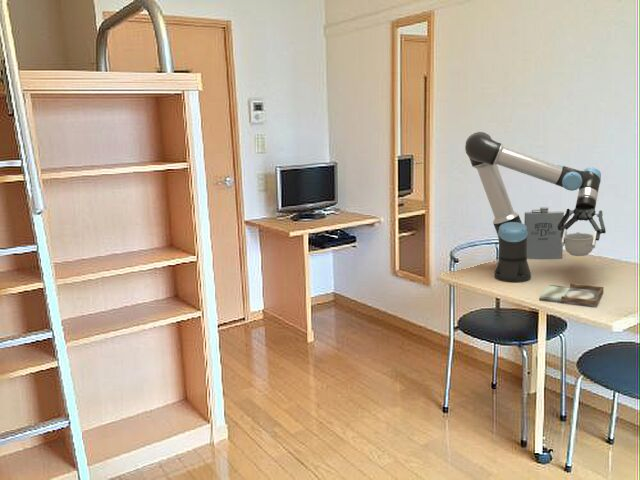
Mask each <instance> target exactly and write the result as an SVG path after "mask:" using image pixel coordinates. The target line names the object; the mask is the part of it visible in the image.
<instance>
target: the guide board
mask: <svg viewBox="0 0 640 480" xmlns="http://www.w3.org/2000/svg"><path fill="white" fill-rule="evenodd" d="M603 294H604V286H598V285H590V284H580V283H579V284H578V283H570V284H569V286H566V285H556V284H548V286H547V287H546V288H545V289H544V291H543V292H542V293H541V295H540V296H539V298H538V301H542V302H547V303H548V302H549V303H556V302H557V304H564V303H565V305H573V306H574V305H575V306H582V307H587V308H588V307H590V308H597V307H598V304H599V303H600V300H601V299H602V296H603Z"/></svg>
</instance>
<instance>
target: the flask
mask: <svg viewBox="0 0 640 480" xmlns="http://www.w3.org/2000/svg"><path fill="white" fill-rule="evenodd" d="M564 215H565V211H561V210H559V211H549V207H548V206H542V207H540V208H537V209H531V211H525V212H524V220H523V221H524V223H523V224H524V225H526V227H527V231H528V235H527V260H562V259H563V255H564V254H563V253H564V252H563V251H564V250H563V249H564V246H562V238H561V235H560V234H561V230H558V227H557V226H558V224H559V223H560V221H561V220H562V218H563V217H564Z"/></svg>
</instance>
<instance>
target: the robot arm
mask: <svg viewBox="0 0 640 480" xmlns="http://www.w3.org/2000/svg"><path fill="white" fill-rule="evenodd" d="M464 147H465V148H464V149H465V150H464V151H465V153H466V155H467V157H468V159H469V161H470V164H471V167H473V168H474V169H476V171H477V173H478V176H479V178H480V181H481V183H482V186H483V189H484V192H485V194H486V197H487V200H488V203H489V205H490V209H491V211H492V214H493V216H494V219H493V221H492V223H493V226H494V229H495V232H496V235H497V239H498V261H497V264H496V267H495V270H494V279H496V280H497V281H501V282H507V283H521V282H527V281H530V279H532V273H531V269H530V266H529V262H528V259H527V235H528V231H527V227H526V225H524V223H522V220H521V217H520V215H519V213H518V212H516V211H515V210H514V208H513V205H512V203H511V199H510V198H509V195H508V191H507V188H506V187H505V183H504V181H503V177H502V175H501V173H500V170H499V167H498V166H501V167H503V168H506V169H509V170H512V171H516V172H519V173H521V174H523V175H526V176H530V177H533V178H535V179H539V180H541V181H543V182H544V181H545V182H547V183H550V184H554V185H555V186H559V187H561V188H564V189H565V190H566V191H577V190H578V192H577V193H578V194H577V200H576V202H575V206H574V207H575V208H574V209H570V208H567V209H565V210H566V211H565V213H564V217H563V218H562V220H561V221H560V223H559V224H558V226H557V227H558V230H561V234H560V235H561V238H562V246H563V247H565V238H564V236H565V235H568V232H567V231H568V229H569V228H571V227H572V226H573V225H574V224H575V223H576V222H578V221H584V222H585V221H586V222H587V221H588V222H589V223H590V225H591V226H592V228H593V229H594V233H593V236H594V237H593V243H592V247H593V249H595V248H596V243H597V241H600V238H601V237H600V236H601V235H602V234H606V227H605V222H604V218H603V214H604V213H603V210H599V211H596V206H597V201H598V194H599V190H600V185H601V182H602V180H601V179H602V174H601V171H600V170H599V169H598V168H596V167H586V168H584V169H583V170H579V169H576V168H572V167H569V166H566V165H560V164H554V163H551V162H548V161H545V160H542V159H539V158H537V157H533V156H531V155H527V154H524V153H522V152H519V151H516V150H513V149H510V148H508V147H505V146H503V144H502V143H501V142H498V141H495V140H494V139H493V138H492V137H491V135H489V134H488V133H486V132H484V131H477V132H474V133H472V134H470V135H469V136H468V137H467V139H466V141H465V146H464ZM572 215H573V216H572ZM595 215H596V217H597V218H598V221H599V224H600V227H599V226H598V224H597V223H596V221H595V219H594V218H593V217H595ZM570 216H572V217H571V218H570ZM569 218H570V219H569Z"/></svg>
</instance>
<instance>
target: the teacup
mask: <svg viewBox="0 0 640 480" xmlns="http://www.w3.org/2000/svg"><path fill="white" fill-rule="evenodd" d="M564 238H565V244H564V249H565V251H566V252H567V253H568V254H569V255H571V256H572V257H586V256H588V255H589V254H590V253H591V252H593V250H594V248H593V247H592V243H593V238H594V234H592V233H591V234H590V233H586V232H585V233H582V232H573V233H567V235H565V236H564Z"/></svg>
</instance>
